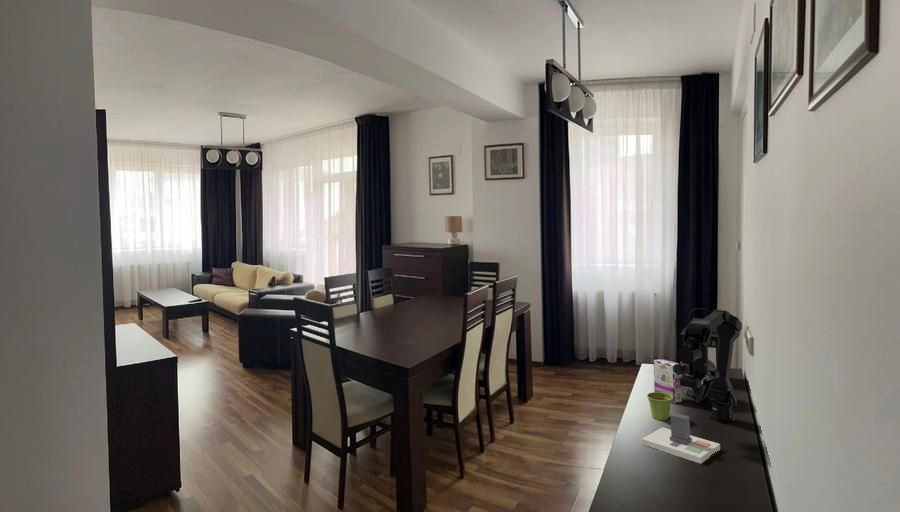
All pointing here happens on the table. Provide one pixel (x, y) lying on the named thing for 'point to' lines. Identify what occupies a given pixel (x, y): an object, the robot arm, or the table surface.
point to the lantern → (713, 344)
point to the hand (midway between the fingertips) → (700, 400)
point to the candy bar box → (667, 379)
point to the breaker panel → (681, 446)
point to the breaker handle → (680, 428)
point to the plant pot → (660, 404)
